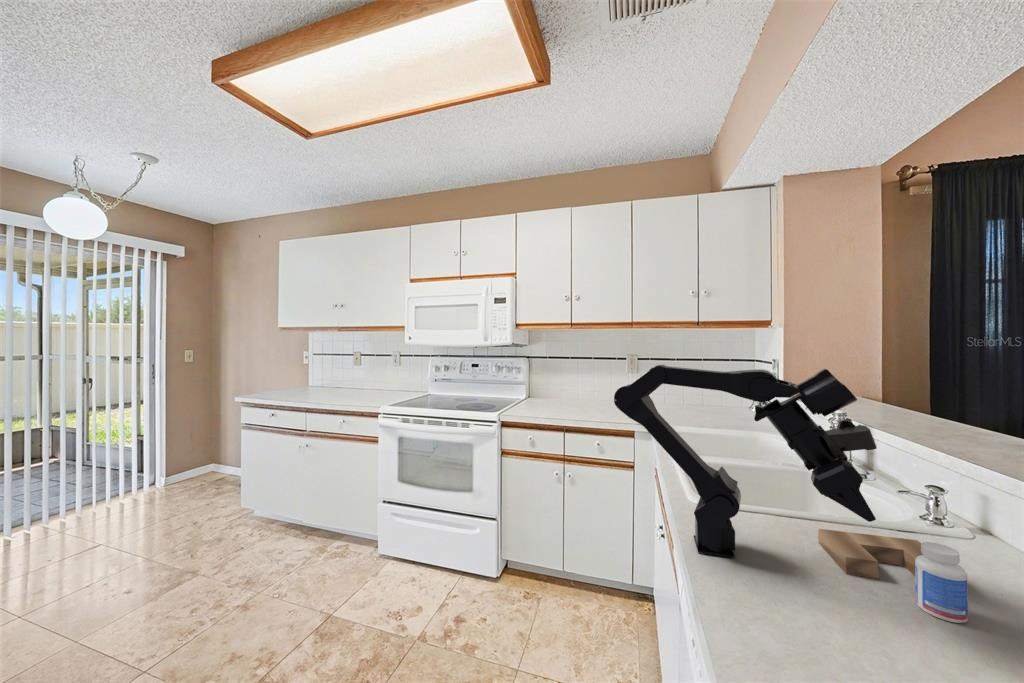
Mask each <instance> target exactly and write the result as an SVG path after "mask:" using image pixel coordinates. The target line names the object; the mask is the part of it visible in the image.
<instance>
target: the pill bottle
mask: <svg viewBox="0 0 1024 683" xmlns="http://www.w3.org/2000/svg"><path fill="white" fill-rule="evenodd" d="M920 543H921V553H922V554H923V555H920V556H918V557H916V559H915V575H914V576H915V579H914V580H915V602H916V604H917V606H918V607H919V608H920V609H921V610H923V611H924V612H926V613H927V614H929V615H930V616H933V617H936V618H938V619H940V620H944V621H947V622H951V623H957V624H963V623H966V622H968V621H969V602H968V601H969V600H968V596H969V595H968V593H969V592H968V591H969V588H968V573H967V571H966V570H965V568H963V567H962V566H961V565H960V561H961V559H960V552H959V551H958V550H956V548H953V547H950V546H948V545H946V544H941V543H938V542H931V541H924V542H920Z"/></svg>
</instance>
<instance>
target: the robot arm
mask: <svg viewBox="0 0 1024 683" xmlns="http://www.w3.org/2000/svg"><path fill="white" fill-rule="evenodd" d="M662 385H671V386H678V387H688V388H695V389H697V388H698V389H703V390H711V391H712V390H713V391H719V392H720V391H721V392H724V393H728V394H731V395H734V396H736V397H739V398H743V399H746V400H750V401H754V402H757V403H767V402H769V403H767V404H765V405H758V404H756V405H755V406H754V410H755V414H754V418H753V421H755V422H759V421H761V420H763V419H765V418H766V419H768V421H769V422H770V423H771V424H772V426H773V427H774V429H776V431H777V432H778V433H779V434H780V435H781V436H782V438H783V439H784V440H785V442H786V443H787V446H788V447H789V448H790V450H793V451H794V452H795V454H796V455H797V456H798V457H799V459H801V461H802V462H803V465H804V467H805V468H806V469H807V470H808V471H811V470H812V471H811V474H810V475H811V476H810V480H811V482H812V485H813V487H815V488H816V490H817V491H818V492H819V494H820V495H821V496H823V497H826V498H829V499H831V500H832V501H834V502H836V503H838V504H839V505H840V506H842V507H843V508H846V509H847V510H849V511H850V512H852V513H853V514H855V515H856V516H859V518H860V517H861V518H862V519H864V520H865V521H867V522H871V523H872V522H874V521H876V520H877V519H876V516H875V514H874V513H873V511H872V509H871V508H870V506H869V504H868V503H867V501H866V499H865V498H864V496H863V494H862V492H861V491H860V488H861V485H862V483H863V482H864V480H863V477H862V475H861V474H860V473H859V471H858V470H857V469H856V467H855V466H853V464H852V463H851V462H850V461H849V460H848V456H847V455H846V453H845V452H854V451H861V450H866V451H873V450H876V449H877V444H876V441H875V439H874V437H873V433H872V431H871V429H870V428H869V427H867V425H862V424H858V425H855V424H854V423H853V422H852V421H851V420H850V419H842V420H838V423H837V426H836V427H834V428H832V429H827V430H825V429H824V428H823V427H822V425H821V424H818V423H817V424H816V421H814V420H813V418H811V416H810V415H809V414H808V413H807V412H806V410H805V409H804V408H803V407H802V406H801V405H800V403H799V402H798V401H799V400H800V401H801V403H803V405H804V406H805V407H806V409H808V411H809V412H810V413H811V414H812V415H816V414H817V415H818V416H819V415H822V416H823V417H827V416H830V415H831V414H833V413H835V412H837V411H839V410H840V409H843V408H845V407H847V406H850V405H851V404H853V403H855V402H857V401H858V399H857V397H856V396H855V395H854V394H853V393H852V391H851V390H850V389H849V388H848V387H847V386H846V384H844V383H842V382H841V381H839V379H837V378H836V377H835V376H834V374H832V372H830V370H829V369H827V368H823V369H821V370H820V371H818V372H816V373H815V374H814V375H813V376H811V377H808V378H807V379H805V380H804V381H801V382H800V383H798V384H796V383H793V382H792V381H787V380H783V379H779V378H777V377H776V375H775V374H774V373H772V372H771V371H770V370H767V369H742V370H732V371H719V370H708V369H700V368H699V369H698V368H688V367H681V366H680V367H678V366H668V365H664V364H658V365H654V366H652V367H651V368H650V369H649V370H648V371H647V372H646V373H644V374H643V375H641V376H640V377H639V378H638V379H636V380H635V381H634V382H632V383H630V384H627V385H624V386H621V387H620V388H618V389H617V390H616V391H615V393H614V394H613V403H614V405H615V407H616V408H617V409H618V410H619V411H620V412H621V413H623V414H624V415H626V416H627V417H628V418H629V419H631V420H633V421H634V422H636V423H637V424H640V425H641V426H642V427H644V429H645V430H646V431H647V432H648V433H649V434H650V436H651V437H652V438H653V439H654V440H655V441H656V442H657V443H658V444H659V445H660V447H661V448H662V449H663V450H664V451H665V452H666V453H667V454H668V455H669V456H670V457H671V459H672V460H673V461H675V463H676V464H677V465H678V466H679V468H680V469H681V470H682V471H683V472H684V473H686V475H687V476H688V477H689V478H690V479H691V481H692V483H693V486H694V487H695V489H696V492H697V493H698V495H699V500H698V501H697V504H696V507H695V509H694V511H693V514H694V530H695V532H694V535H693V539H694V544H695V548H696V551H697V553H699V554H705V555H710V556H717V557H724V558H730V559H731V558H732V559H735V553H734V551H736V530H735V528H734V526H733V522H732V521H731V519H732V518H734V517H736V515H738V513H739V511H740V506H741V499H742V493H741V489H740V488H739V486H738V484H739V481H737V480H735V479H734V478H732V477H731V476H730V475H729V474H728V472H727V471H726V469H725V467H723V466H721V467H719V469H718V470H716V469H715V468H713V467H711V466H710V465H709V464H707V463H706V462H705V461H704V460H703V458H701V456H700V455H699V454H698V453H696V451H695V450H694V449H693V448H692V447H691V446H690V444H688V443H687V442H686V441H685V440H684V438H683V437H681V435H680V434H679V433H678V432H677V431H676V430H675V429H674V428H673V427H672V426H671V425H670V424H669V422H667V420H665V418H664V417H663V416H662V415H661V414H660V413H659V411H658V409H657V408H656V405H655V403H654V401H653V398H651V396H650V395H651V394H653V393H654V391H656V390H657V389H658V388H659V387H660V386H662ZM775 398H776V399H775ZM777 398H784V399H785V398H787V399H785V400H783V401H780V400H779V399H777ZM773 399H775V400H773ZM772 400H773V401H772ZM770 401H771V402H770Z"/></svg>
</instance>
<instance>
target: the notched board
mask: <svg viewBox="0 0 1024 683" xmlns="http://www.w3.org/2000/svg"><path fill="white" fill-rule="evenodd" d="M817 533H818V539H817V540H818V545H820V546H821V547H822V549H823V550H824V551H825V552H826V553H827V554H828V556H830V558H831V559H832V560H833V561H834V563H836V564H837V566H838V567H839V568H840V569H841V570H842V571H843V573H844V574H846V575H852V576H859V577H866V578H873V579H879V564H886V565H896V566H903V567H904V568H905V569H907V570H908V571H909V572H910V573H911V574H912V575H913V576H915V559H916V557H918V556H920V555H923V554H922V553H921V543H922V542H921V541H919V540H918V539H910V538H904V537H903V538H901V537H894V536H893V537H892V536H886V535H878V534H877V535H876V534H867V533H861V532H860V533H858V532H850V531H841V530H833V529H823V528H818V532H817Z"/></svg>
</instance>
